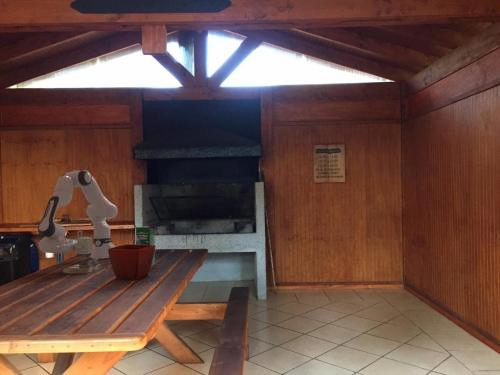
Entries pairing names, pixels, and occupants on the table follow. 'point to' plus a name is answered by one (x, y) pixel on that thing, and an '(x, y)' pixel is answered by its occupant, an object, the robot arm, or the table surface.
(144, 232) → the milk carton
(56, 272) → the table surface
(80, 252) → the pale green handled box
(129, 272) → the plant pot
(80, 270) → the dock
